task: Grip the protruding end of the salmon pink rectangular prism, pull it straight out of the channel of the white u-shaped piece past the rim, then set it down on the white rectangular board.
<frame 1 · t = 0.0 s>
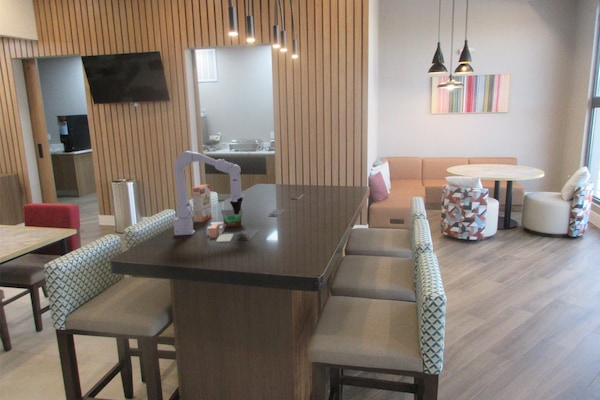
hand: (237, 212, 228), 10 cm above the table, tool pointing down, fingers open, 7 cm apart
food container: (233, 227, 240), on the table
salmon pink rectangular prism: (214, 235, 224), on the table
cracker box: (203, 220, 260), on the table
white u-shaped piece: (215, 233, 227), on the table
white rectangular board: (225, 238, 216), on the table
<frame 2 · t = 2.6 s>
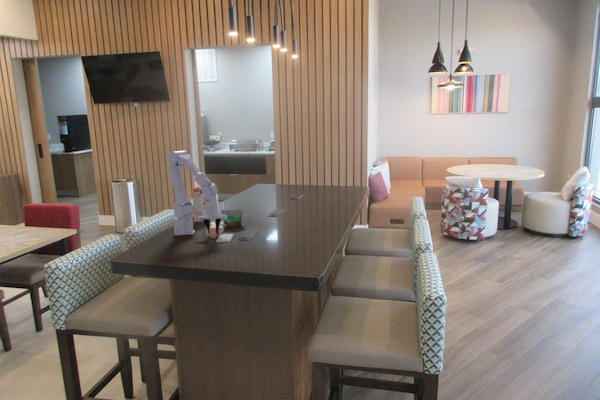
hand: (213, 233, 221), 2 cm above the table, tool pointing down, fingers closed on salmon pink rectangular prism, 3 cm apart
salmon pink rectangular prism: (214, 235, 224), on the table, touching gripper
everything else where it was.
when the fingers open (4 cm above the table, at t = 7.8 s): salmon pink rectangular prism stays where it is, resting on white rectangular board.
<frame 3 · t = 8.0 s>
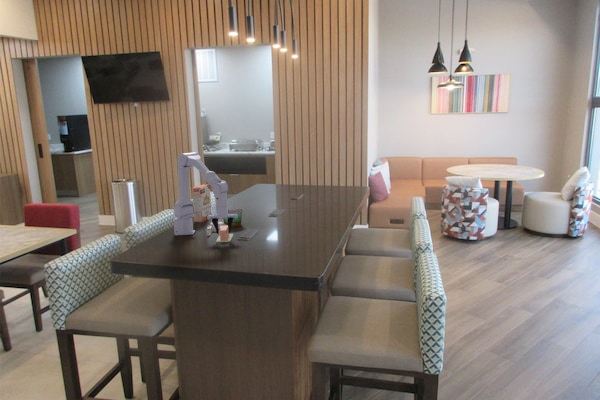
hand: (223, 232, 213), 4 cm above the table, tool pointing down, fingers open, 5 cm apart
salmon pink rectangular prism: (224, 237, 216), point 1 cm above the table, touching white rectangular board
everything else where it was.
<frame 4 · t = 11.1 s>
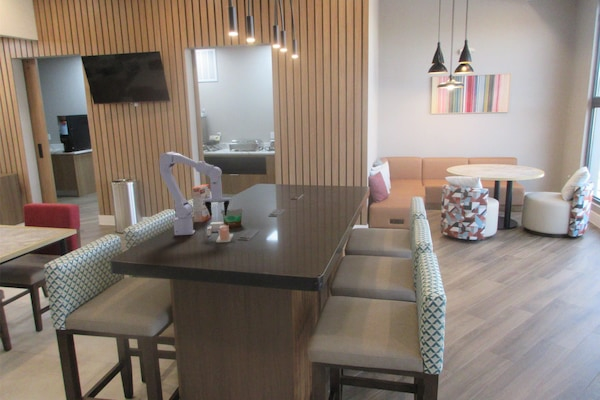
hand: (218, 215, 226), 9 cm above the table, tool pointing down, fingers open, 7 cm apart
nothing on the table moved.
at the end: salmon pink rectangular prism inside the target area on the white rectangular board (0.3 cm from its centre), point 0.6 cm above the white rectangular board's base; salmon pink rectangular prism touching white rectangular board; the gripper is holding nothing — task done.
